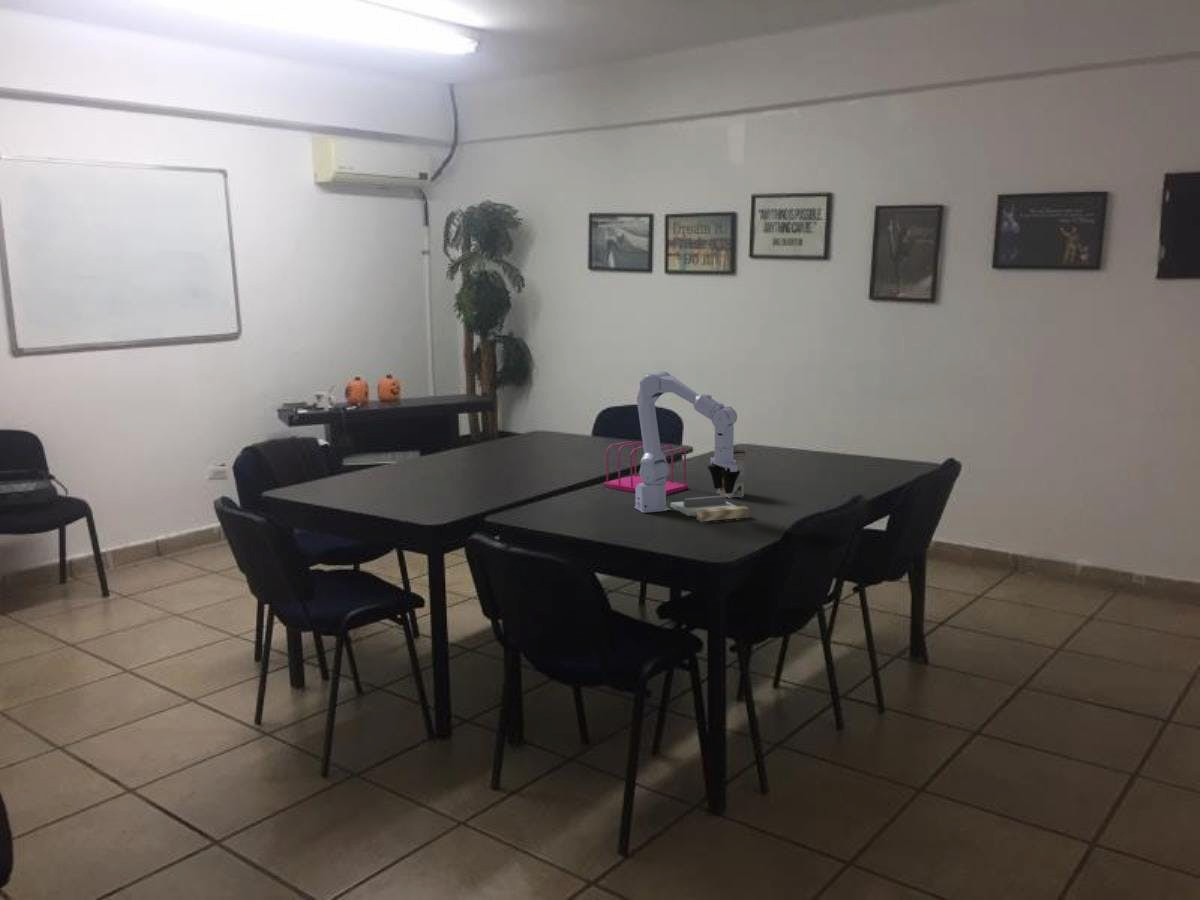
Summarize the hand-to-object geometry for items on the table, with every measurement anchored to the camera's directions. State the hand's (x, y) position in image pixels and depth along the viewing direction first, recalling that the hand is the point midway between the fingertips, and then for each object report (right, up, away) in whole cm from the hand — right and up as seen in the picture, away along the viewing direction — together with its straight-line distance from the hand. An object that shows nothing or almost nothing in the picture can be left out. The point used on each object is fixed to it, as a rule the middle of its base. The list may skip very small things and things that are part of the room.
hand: (723, 490), depth 296 cm
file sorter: (-22, -1, +46) cm, 51 cm away
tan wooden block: (0, -9, +2) cm, 9 cm away
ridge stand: (-4, -7, +14) cm, 16 cm away
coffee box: (+7, -3, +34) cm, 35 cm away
